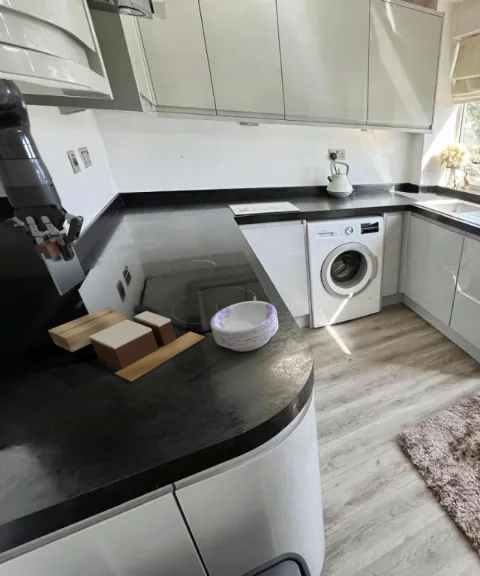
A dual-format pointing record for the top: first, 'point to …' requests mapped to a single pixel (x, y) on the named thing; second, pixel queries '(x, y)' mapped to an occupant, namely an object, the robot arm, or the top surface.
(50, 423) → the top surface
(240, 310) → the paper bowls
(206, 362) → the top surface
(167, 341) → the cake slice
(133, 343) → the loaf cake
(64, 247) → the robot arm
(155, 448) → the top surface
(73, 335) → the knife block
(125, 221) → the top surface
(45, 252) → the cake cutter
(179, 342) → the cutting board
